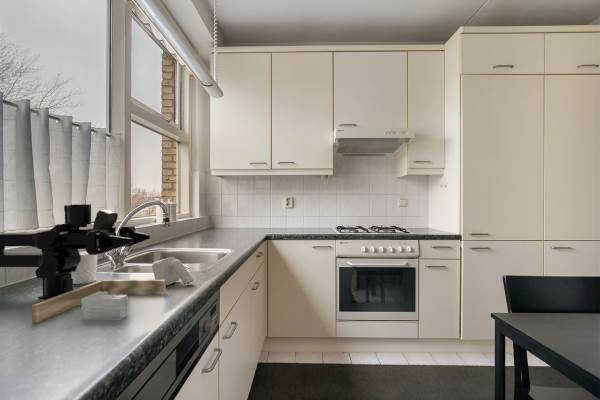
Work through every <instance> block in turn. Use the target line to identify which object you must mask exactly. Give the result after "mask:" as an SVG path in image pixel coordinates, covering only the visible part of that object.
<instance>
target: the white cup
mask: <svg viewBox="0 0 600 400" xmlns="http://www.w3.org/2000/svg"><path fill="white" fill-rule="evenodd" d="M78 252H79V254H80V257H81V259H80V262H79V264H78V266H77V269H76V271H75V272H70V273H72V279H73V285H84V284H91V283H94V282H96V280H97V272H98V271H97V270H98V255H99V254H97V255H89V254H88V253H87V252H86V250H85V251H84V250H83V251H78Z"/></svg>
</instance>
